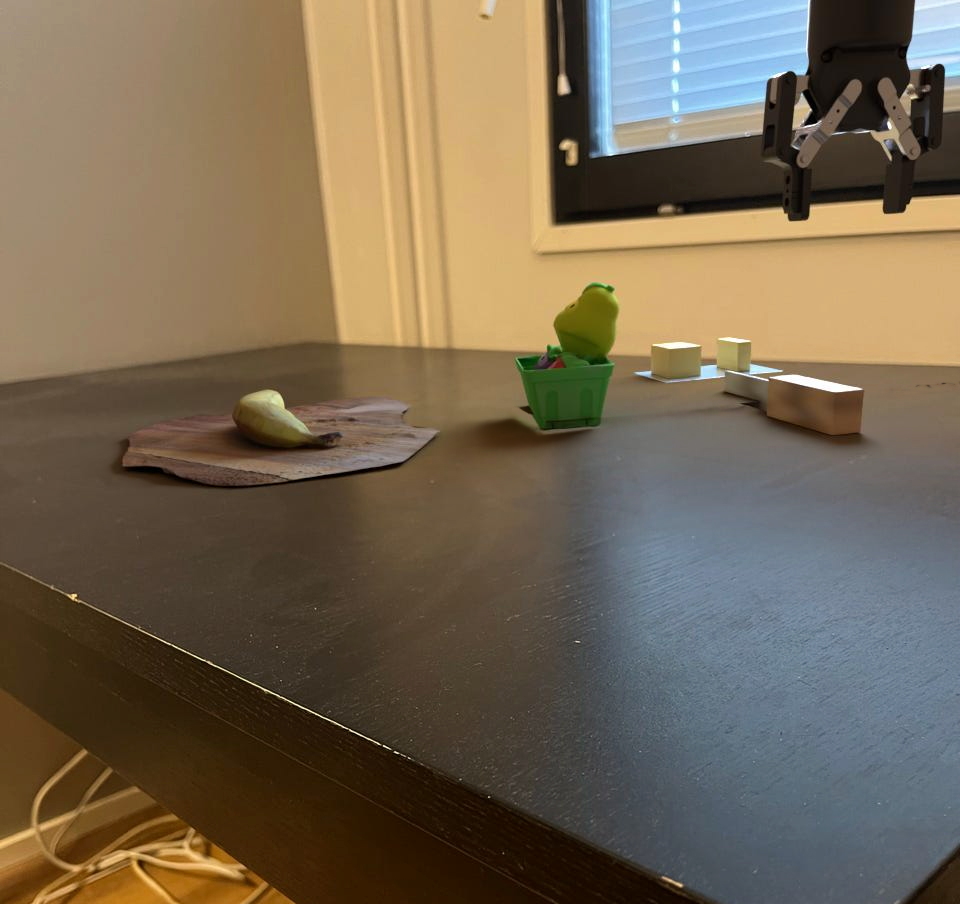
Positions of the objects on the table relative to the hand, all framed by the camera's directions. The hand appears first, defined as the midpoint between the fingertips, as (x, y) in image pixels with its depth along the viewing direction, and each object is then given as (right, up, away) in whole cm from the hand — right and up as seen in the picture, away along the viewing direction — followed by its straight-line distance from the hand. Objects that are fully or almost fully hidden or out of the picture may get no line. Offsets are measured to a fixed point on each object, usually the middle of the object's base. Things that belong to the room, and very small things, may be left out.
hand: (846, 217), depth 79 cm
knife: (-4, -15, +4) cm, 16 cm away
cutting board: (-47, -17, +7) cm, 50 cm away
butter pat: (-3, -5, +26) cm, 26 cm away
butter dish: (-6, -6, +25) cm, 27 cm away
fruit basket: (-22, -15, +8) cm, 27 cm away
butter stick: (-9, -6, +24) cm, 27 cm away
